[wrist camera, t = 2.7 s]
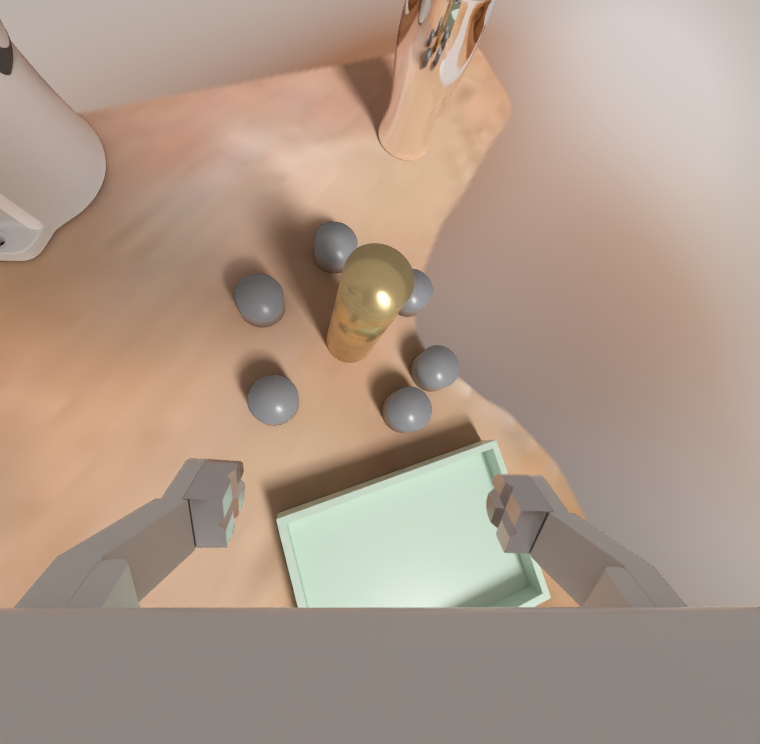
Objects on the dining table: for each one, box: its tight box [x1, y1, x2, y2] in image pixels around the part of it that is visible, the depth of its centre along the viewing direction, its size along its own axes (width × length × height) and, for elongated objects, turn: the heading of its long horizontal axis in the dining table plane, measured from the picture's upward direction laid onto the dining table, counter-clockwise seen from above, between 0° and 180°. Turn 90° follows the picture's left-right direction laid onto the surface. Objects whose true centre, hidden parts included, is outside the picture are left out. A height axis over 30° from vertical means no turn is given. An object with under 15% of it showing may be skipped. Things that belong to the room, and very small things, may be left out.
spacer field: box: [234, 222, 459, 433], centre depth 32 cm, size 19×21×2 cm
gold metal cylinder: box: [326, 243, 415, 363], centre depth 27 cm, size 4×4×13 cm
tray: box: [276, 440, 551, 608], centre depth 29 cm, size 20×14×3 cm
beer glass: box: [378, 0, 495, 160], centre depth 32 cm, size 7×7×15 cm
